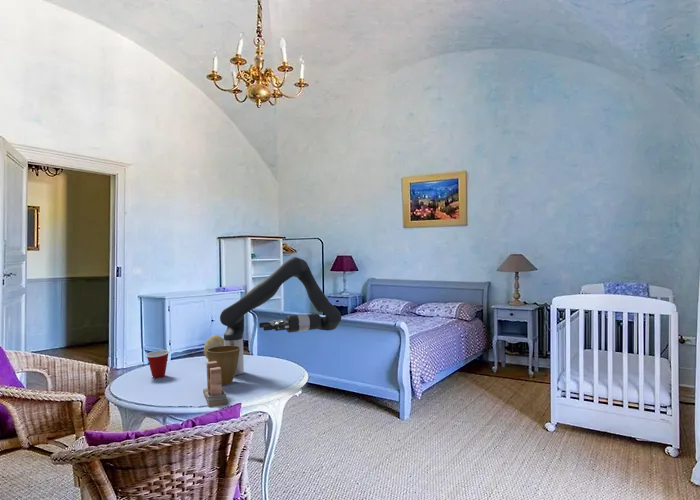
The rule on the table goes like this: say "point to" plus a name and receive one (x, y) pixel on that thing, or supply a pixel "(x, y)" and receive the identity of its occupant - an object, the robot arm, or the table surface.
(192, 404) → the table surface
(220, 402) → the gravestone
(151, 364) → the plastic cup
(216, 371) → the tall copper pillar
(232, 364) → the plant pot
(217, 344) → the fossilized egg
